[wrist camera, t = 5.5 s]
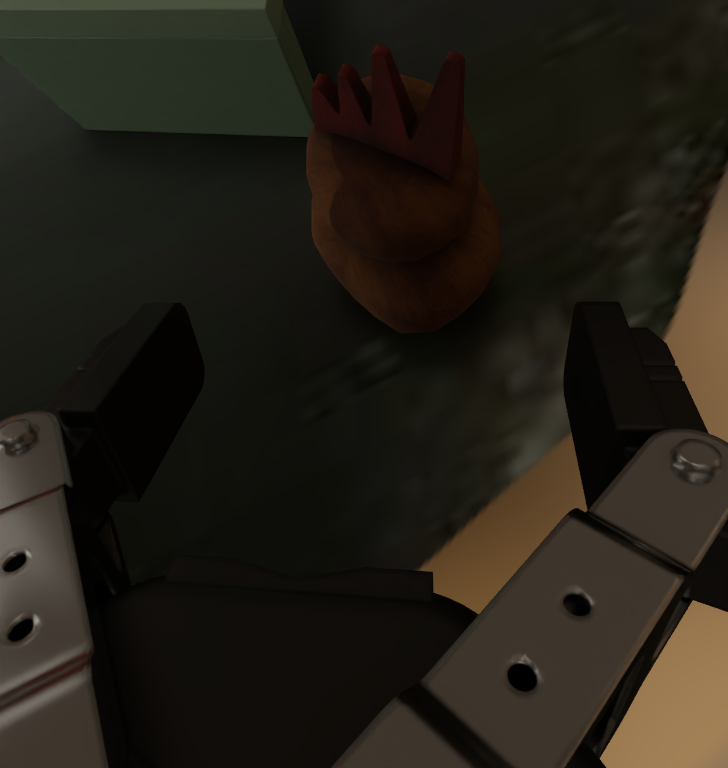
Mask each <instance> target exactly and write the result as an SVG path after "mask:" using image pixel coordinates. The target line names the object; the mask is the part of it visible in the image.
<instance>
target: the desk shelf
mask: <svg viewBox="0 0 728 768" xmlns="http://www.w3.org/2000/svg"><path fill="white" fill-rule="evenodd" d="M0 56H2V57H3V58H4V59H5V60H6V61H7V62H8V63H10V64H11V65H12V66H13V67H14V68H15V69H17V70H18V71H19V72H20V73H21V74H22V75H23V76H25V77H26V78H27V79H28V80H29V81H30V82H31V83H33V84H34V85H35V86H36V87H37V88H38V89H40V90H41V91H42V92H43V93H44V94H45V95H46V96H48V97H49V98H50V99H51V100H52V101H53V102H54V103H56V104H57V105H58V106H59V107H60V108H61V109H63V110H64V111H65V112H66V113H67V114H68V115H69V116H71V117H72V118H73V119H74V120H75V121H76V122H77V123H79V124H80V125H81V126H82V127H83V128H84V129H86V130H110V131H140V132H170V133H200V134H230V135H260V136H290V137H308V136H309V134H310V131H311V129H312V126H313V124H314V116H313V108H312V86H313V84H314V82H313V80H312V77H311V74H310V72H309V69H308V67H307V64H306V61H305V59H304V56H303V53H302V51H301V48H300V46H299V43H298V40H297V38H296V35H295V32H294V30H293V27H292V25H291V22H290V19H289V17H288V14H287V12H286V9H285V6H284V4H283V0H0Z"/></svg>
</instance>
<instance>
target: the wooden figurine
mask: <svg viewBox="0 0 728 768" xmlns="http://www.w3.org/2000/svg"><path fill="white" fill-rule="evenodd" d="M464 73H465V59H464V57H463V56H462V55H461V54H458V53H455V52H449V53H448V55H447V57H446V59H445V61H444V64H443V66H442V69H441V71H440V74H439V76H438V78H437V81H436V83H435V86H433V85H431V84H429V83H428V82H426V81H424V80H421V79H417V78H413V77H409V76H405V75H401V74H399V72H398V70H397V67H396V65H395V62H394V60H393V58H392V55H391V53H390V50H389V49H388V48H387V47H385V46H383V45H380V44H377V45H376V47H375V49H374V51H373V53H372V75H369V76H366V77H364V78H361V79H360V77H359V75H358V73H357V72H356V70H355V68H354V67H353V66H351V65H349V64H345V63H343V65H342V67H341V69H340V71H339V73H338V76H337V85H338V87H337V86H336V85H335V84H334V83H333V82H332V81H331V79H330V78H329V77H328V76H326V75H325V74H322V73H319V74H318V76H317V78H316V80H315V82H314V84H313V86H312V108H313V116H314V124H313V126H312V129H311V131H310V134H309V136H308V142H307V161H306V176H307V179H308V182H309V185H310V188H311V191H312V194H313V198H312V230H311V232H312V236H313V240H314V244H315V246H316V247H317V249H318V251H319V252H320V254H321V255H322V257H323V259H324V260H325V262H326V264H327V265H328V267H329V269H330V270H331V271H332V273H333V274H334V276H335V277H336V278H337V279H338V280H339V282H340V283H341V284H342V285H343V286H344V287H345V288H346V290H347V291H348V292H349V293H350V294H351V295H352V296H353V297H354V299H356V300H357V301H358V302H359V303H360V304H361V305H362V306H363V307H365V308H366V309H367V310H368V311H369V312H370V313H371V314H372V315H374V316H375V317H376V318H377V319H379V320H381V321H382V322H384V323H385V324H387V325H388V326H390V327H391V328H393V329H395V330H396V331H398V332H399V333H401V334H402V333H425V332H435V331H436V330H438V329H439V328H441V327H443V326H444V325H446V324H448V323H449V322H451V321H453V320H454V319H456V318H457V317H459V316H460V315H461V314H462V313H463V312H464V311H465V310H466V309H467V308H468V307H469V306H470V305H471V304H472V303H473V302H474V301H475V300H476V299H478V298H479V297H480V296H481V295H482V294H483V292H484V290H485V288H486V286H487V284H488V282H489V280H490V278H491V277H492V275H493V273H494V271H495V269H496V267H497V265H498V263H499V260H500V258H501V215H500V213H499V211H498V210H497V208H496V206H495V204H494V203H493V201H492V199H491V197H490V196H489V194H488V192H487V190H486V189H485V187H484V185H483V183H482V182H481V180H480V179H479V154H478V149H477V146H476V144H475V141H474V138H473V136H472V133H471V131H470V128H469V125H468V123H467V121H466V119H465V117H464Z"/></svg>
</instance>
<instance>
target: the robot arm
mask: <svg viewBox="0 0 728 768" xmlns="http://www.w3.org/2000/svg"><path fill="white" fill-rule="evenodd" d="M78 368H79V370H78V371H75V372H74V373H73V374H72V375H71V377H70V378H69V379H68V380H67V381H66V382H65V384H64V385H63V386H62V387H61V388H60V389H59V391H58V392H57V393H56V394H55V395H54V397H53V398H52V399H51V400H50V401H49V402H48V404H47V405H46V406H45V407H44V408H43V409H42V411H30V412H25V413H21V414H17V415H14V416H12V417H9V418H7V419H5V420H3V421H1V422H0V768H606V767H605V765H604V764H603V763H602V761H601V760H600V757H601V755H602V754H603V752H604V750H605V749H606V747H607V745H608V743H609V742H610V740H611V739H612V737H613V735H614V734H615V732H616V730H617V728H618V727H619V725H620V723H621V721H622V720H623V718H624V716H625V715H626V713H627V711H628V709H629V707H630V706H631V704H632V702H633V700H634V698H635V696H636V694H637V692H638V691H639V688H640V687H641V685H642V683H643V681H644V680H645V678H646V677H647V675H648V673H649V672H650V670H651V668H652V667H653V665H654V663H655V662H656V660H657V658H658V657H659V655H660V653H661V652H662V650H663V648H664V647H665V645H666V643H667V642H668V640H669V638H670V637H671V635H672V633H673V632H674V630H675V629H676V627H677V625H678V624H679V622H680V620H681V619H682V617H683V615H684V614H685V612H686V610H687V609H688V607H689V605H690V604H691V602H692V601H693V600H694V601H697V602H700V603H703V604H706V605H709V606H712V607H715V608H718V609H721V610H723V611H726V612H728V443H727V442H726V441H724V440H722V439H720V438H718V437H716V436H714V435H711V434H709V433H708V431H707V429H706V427H705V425H704V422H703V420H702V418H701V416H700V414H699V412H698V410H697V407H696V405H695V403H694V401H693V399H692V397H691V395H690V393H689V391H688V388H687V386H686V384H685V382H684V381H682V376H681V373H680V371H679V369H678V367H677V366H675V361H674V358H673V356H672V354H671V352H670V350H669V348H668V346H667V344H666V343H665V342H664V341H663V340H661V339H660V338H659V337H658V336H657V335H655V334H654V333H653V332H652V331H651V330H649V329H648V328H629V325H628V323H627V320H626V318H625V315H624V313H623V310H622V308H621V305H620V303H619V302H577V303H576V305H575V307H574V311H573V317H572V323H571V330H570V336H569V342H568V348H567V354H566V361H565V367H564V397H565V403H566V407H567V412H568V417H569V422H570V427H571V432H572V437H573V441H574V446H575V451H576V456H577V461H578V466H579V471H580V475H581V480H582V485H583V490H584V495H585V499H586V505H587V509H588V511H587V512H583V511H582V510H580V509H578V508H575V509H573V510H571V511H570V512H569V513H568V514H566V515H565V517H564V518H563V519H562V520H561V521H560V522H559V523H558V524H557V526H556V527H555V528H554V529H553V530H552V531H551V532H550V534H549V535H548V536H547V537H546V538H545V539H544V541H543V542H542V543H541V544H540V545H539V546H538V547H537V548H536V550H535V551H534V552H533V553H532V554H531V555H530V557H529V558H528V559H527V560H526V561H525V562H524V564H523V565H522V566H521V567H520V568H519V569H518V570H517V572H516V573H515V574H514V575H513V576H512V577H511V578H510V580H509V581H508V582H507V583H506V584H505V585H504V586H503V588H502V589H501V590H500V591H499V592H498V593H497V594H496V596H495V597H494V598H493V599H492V600H491V601H490V602H489V604H488V605H487V606H486V607H485V608H484V609H483V610H482V612H481V613H480V614H479V615H478V614H477V613H475V612H474V611H472V610H471V609H469V608H467V607H466V606H464V605H462V604H460V603H458V602H456V601H453V600H452V599H450V598H447V597H444V596H441V595H439V594H436V593H433V572H426V571H413V570H398V569H383V568H369V567H365V568H359V569H353V570H347V571H340V572H334V573H328V574H322V575H316V576H309V577H303V578H293V577H289V576H286V575H283V574H280V573H277V572H274V571H271V570H268V569H265V568H262V567H259V566H256V565H253V564H250V563H247V562H245V561H242V560H239V559H236V558H222V557H207V556H192V555H178V554H176V555H175V557H174V559H173V561H172V564H171V566H170V568H169V570H168V572H167V575H163V576H159V577H156V578H152V579H149V580H146V581H143V582H140V583H138V584H135V585H133V586H131V582H130V579H129V575H128V572H127V568H126V564H125V561H124V557H123V553H122V550H121V546H120V542H119V539H118V535H117V531H116V528H115V524H114V521H113V518H112V516H111V515H110V513H109V511H108V510H109V508H110V507H111V505H112V503H113V502H114V501H127V502H139V501H140V499H141V498H142V496H143V494H144V492H145V490H146V489H147V487H148V485H149V483H150V481H151V480H152V478H153V476H154V474H155V472H156V471H157V469H158V467H159V465H160V463H161V461H162V460H163V458H164V456H165V454H166V452H167V451H168V449H169V447H170V445H171V443H172V442H173V440H174V438H175V436H176V434H177V433H178V431H179V429H180V427H181V425H182V424H183V422H184V420H185V418H186V416H187V415H188V413H189V411H190V409H191V407H192V406H193V404H194V402H195V400H196V398H197V397H198V395H199V393H200V391H201V389H202V386H203V383H204V363H203V359H202V356H201V353H200V350H199V347H198V344H197V341H196V337H195V334H194V331H193V328H192V325H191V322H190V319H189V315H188V313H187V310H186V308H185V307H184V306H183V305H182V304H181V303H145V304H143V305H142V306H141V307H140V308H139V309H138V311H137V312H136V313H135V314H134V316H133V317H132V318H131V319H130V320H129V322H128V323H127V324H126V325H125V326H122V327H120V328H119V329H117V330H116V331H114V332H113V333H111V334H110V335H108V336H107V337H105V338H104V339H102V340H101V341H100V343H99V344H98V345H97V346H96V347H95V348H94V350H93V351H92V352H91V353H90V354H89V358H86V359H85V360H84V361H83V363H82V364H81V365H80V366H79V367H78Z"/></svg>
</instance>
